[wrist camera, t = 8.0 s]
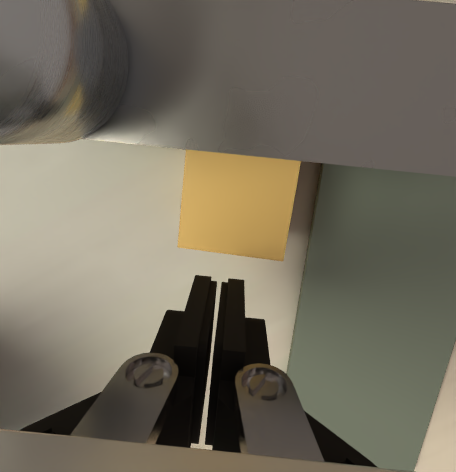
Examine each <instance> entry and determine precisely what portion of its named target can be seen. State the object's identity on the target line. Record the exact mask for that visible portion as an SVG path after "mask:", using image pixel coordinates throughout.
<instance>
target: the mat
mask: <svg viewBox="0 0 456 472" xmlns="http://www.w3.org/2000/svg"><path fill="white" fill-rule="evenodd" d="M455 341H456V177H454V176H444V175H434V174H424V173H414V172H404V171H394V170H384V169H375V168H365V167H355V166H345V165H335V164H325V163H322V166H321V172H320V178H319V184H318V189H317V195H316V201H315V207H314V213H313V219H312V225H311V231H310V237H309V243H308V249H307V255H306V261H305V267H304V272H303V278H302V284H301V290H300V296H299V302H298V308H297V314H296V320H295V326H294V332H293V338H292V344H291V349H290V355H289V361H288V367H287V373H286V374H287V375H288V376H289V378H290V379H291V381H292V382H293V385H294V387H295V390H296V392H297V395H298V397H299V400H300V402H301V405H302V407H303V409H304V411H305V412H307V413H308V414H309V415H311V416H312V417H313V418H315V419H316V420H317V421H319V422H320V423H321V424H323V425H324V426H325V427H327V428H328V429H329V430H331V431H332V432H333V433H334V434H336V435H337V436H338V437H340V438H341V439H342V440H344V441H345V442H346V443H348V444H349V445H350V446H352V447H353V448H354V449H356V450H357V451H358V452H360V453H361V454H362V455H363V456H365V457H366V458H367V459H369V460H370V461H371V462H373V463H374V464H375V465H376V466H377V467H378V468H387V469H396V470H405V471H414V469H415V466H416V463H417V460H418V456H419V453H420V450H421V447H422V444H423V441H424V438H425V435H426V431H427V428H428V425H429V422H430V419H431V416H432V413H433V410H434V406H435V403H436V400H437V397H438V394H439V391H440V388H441V384H442V381H443V378H444V375H445V372H446V369H447V366H448V363H449V359H450V356H451V353H452V350H453V347H454V344H455Z"/></svg>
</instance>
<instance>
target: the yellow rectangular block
mask: <svg viewBox="0 0 456 472" xmlns="http://www.w3.org/2000/svg"><path fill="white" fill-rule="evenodd" d="M300 164H301V161H296V160H286V159H276V158H266V157H256V156H246V155H236V154H226V153H217V152H207V151H197V150H187V149H186V156H185V167H184V179H183V191H182V202H181V214H180V225H179V237H178V247H179V248H187V249H194V250H202V251H209V252H217V253H224V254H232V255H240V256H247V257H255V258H262V259H270V260H277V261H283V259H284V254H285V248H286V243H287V237H288V231H289V226H290V220H291V215H292V209H293V203H294V198H295V192H296V187H297V181H298V175H299V170H300Z"/></svg>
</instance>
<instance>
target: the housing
mask: <svg viewBox="0 0 456 472" xmlns="http://www.w3.org/2000/svg"><path fill="white" fill-rule="evenodd" d="M79 139H88V140H98V141H108V142H118V143H128V144H138V145H147V146H157V147H167V148H177V149H187V150H197V151H207V152H217V153H226V154H236V155H246V156H256V157H266V158H276V159H286V160H296V161H305V162H315V163H325V164H335V165H345V166H355V167H365V168H375V169H384V170H394V171H404V172H414V173H424V174H434V175H444V176H454V177H456V4H451V3H440V2H429V1H418V0H0V145H19V144H52V143H67V142H72V141H76V140H79Z"/></svg>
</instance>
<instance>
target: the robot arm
mask: <svg viewBox="0 0 456 472" xmlns="http://www.w3.org/2000/svg"><path fill="white" fill-rule="evenodd" d="M216 287H217V281H211V277H209V276H199V275H195V278H194V282H193V285H192V288H191V292H190V295H189V298H188V301H187V305H186V308H185V311H175V310H167V311H166V313H165V316H164V318H163V321H162V323H161V326H160V328H159V331H158V333H157V336H156V338H155V341H154V343H153V346H152V348H151V351H150V353H142V354H139V355H136V356H133V357H132V358H130V359H128V360H127V361H126V362H124V363H123V364H122V365H121V367H120V368H119V369H118V371H117V372H116V374H115V375H114V376H113V378H112V379H111V380H110V382H109V383H108V384H107V386H106V387H105V388H104V390H103V391H102V392H100V393H98V394H96V395H94V396H92V397H89V398H87V399H85V400H83V401H81V402H79V403H76V404H74V405H72V406H70V407H68V408H66V409H63V410H61V411H59V412H57V413H55V414H53V415H50V416H48V417H46V418H44V419H42V420H40V421H37V422H35V423H33V424H31V425H29V426H27V427H25V428H23V429H21V430H20V431H15V430H5V429H0V472H414V471H405V470H396V469H387V468H378V467H377V466H376V465H375V464H374V463H373V462H371V461H370V460H369V459H367V458H366V457H365V456H363V455H362V454H361V453H360V452H358V451H357V450H356V449H354V448H353V447H352V446H350V445H349V444H348V443H346V442H345V441H344V440H342V439H341V438H340V437H338V436H337V435H336V434H334V433H333V432H332V431H331V430H329V429H328V428H327V427H325V426H324V425H323V424H321V423H320V422H319V421H317V420H316V419H315V418H313V417H312V416H311V415H309V414H308V413H307V412H305V411H304V409H303V407H302V405H301V402H300V400H299V397H298V395H297V392H296V390H295V387H294V385H293V382H292V381H291V379H290V378H289V376H288V375H287V374H286V373H284V372H283V371H282V370H280V369H278V368H276V367H274V366H271V365H270V358H269V350H268V342H267V334H266V326H265V320H264V319H255V318H245V297H244V280H239V279H228V283H227V282H222V286H221V294H220V302H219V311H218V319H217V327H216V335H215V344H214V353H213V363H212V374H211V385H210V395H209V406H208V417H207V427H206V438H205V445H213V449H212V450H206V449H196V448H190V446H191V443H195V444H199V437H200V429H201V422H202V414H203V407H204V399H205V391H206V384H207V376H208V369H209V361H210V353H211V342H212V331H213V320H214V309H215V298H216Z"/></svg>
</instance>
